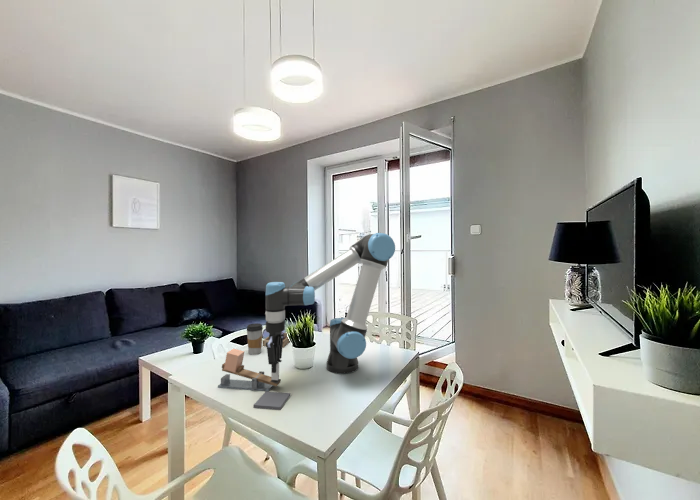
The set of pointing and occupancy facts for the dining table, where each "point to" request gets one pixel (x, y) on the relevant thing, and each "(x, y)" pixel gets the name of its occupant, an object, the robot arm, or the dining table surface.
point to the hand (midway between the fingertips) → (275, 379)
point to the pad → (272, 400)
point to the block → (234, 360)
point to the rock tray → (283, 341)
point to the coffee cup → (254, 338)
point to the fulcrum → (244, 384)
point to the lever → (253, 375)
